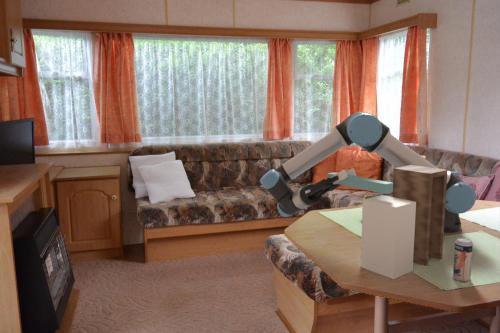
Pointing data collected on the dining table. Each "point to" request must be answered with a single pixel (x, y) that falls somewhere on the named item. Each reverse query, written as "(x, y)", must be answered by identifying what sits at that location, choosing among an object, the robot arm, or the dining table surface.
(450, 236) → the dining table surface
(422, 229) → the tall wooden grooved block
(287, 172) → the robot arm
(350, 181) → the bar
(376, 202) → the pillar
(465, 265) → the beer can
